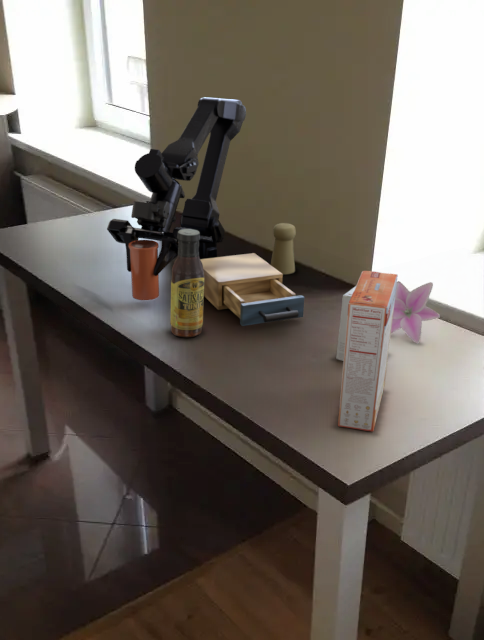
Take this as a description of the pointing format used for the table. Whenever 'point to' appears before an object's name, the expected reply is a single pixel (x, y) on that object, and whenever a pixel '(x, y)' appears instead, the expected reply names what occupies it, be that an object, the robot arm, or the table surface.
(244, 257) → the cabinet
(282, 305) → the drawer
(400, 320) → the lily
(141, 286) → the cup
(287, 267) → the cork
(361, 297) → the cracker box
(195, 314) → the sauce bottle
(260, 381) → the table surface
